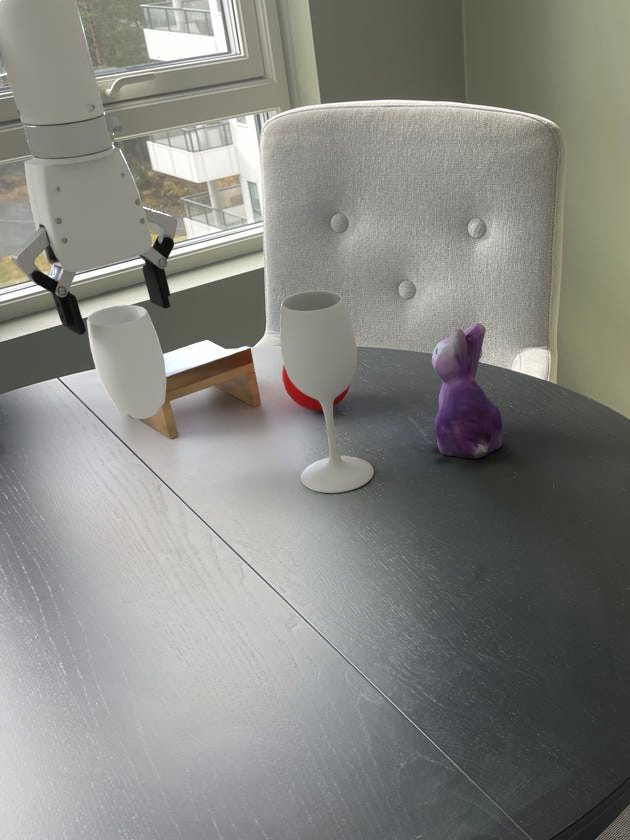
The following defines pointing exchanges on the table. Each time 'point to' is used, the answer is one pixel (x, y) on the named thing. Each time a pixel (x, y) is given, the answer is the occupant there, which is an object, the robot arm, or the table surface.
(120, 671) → the table surface
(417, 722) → the table surface
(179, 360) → the stand
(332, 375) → the wineglass
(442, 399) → the figurine
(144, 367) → the cup
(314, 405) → the ornament
